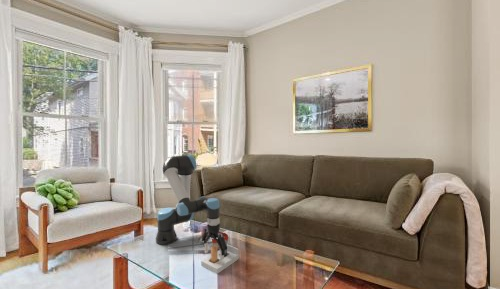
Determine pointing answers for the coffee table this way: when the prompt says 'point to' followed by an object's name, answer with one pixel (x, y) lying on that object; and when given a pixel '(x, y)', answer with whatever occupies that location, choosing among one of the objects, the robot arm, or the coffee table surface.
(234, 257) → the housing
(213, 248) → the orange pin
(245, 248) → the coffee table surface
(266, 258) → the coffee table surface
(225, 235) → the toy
